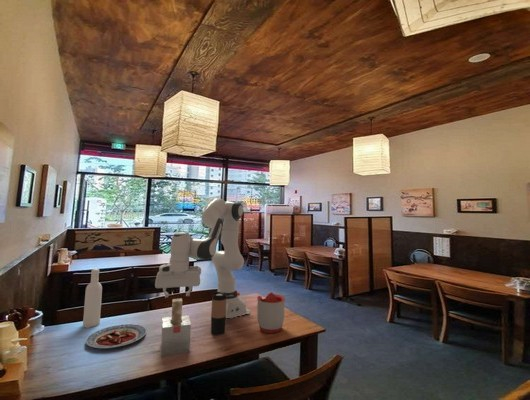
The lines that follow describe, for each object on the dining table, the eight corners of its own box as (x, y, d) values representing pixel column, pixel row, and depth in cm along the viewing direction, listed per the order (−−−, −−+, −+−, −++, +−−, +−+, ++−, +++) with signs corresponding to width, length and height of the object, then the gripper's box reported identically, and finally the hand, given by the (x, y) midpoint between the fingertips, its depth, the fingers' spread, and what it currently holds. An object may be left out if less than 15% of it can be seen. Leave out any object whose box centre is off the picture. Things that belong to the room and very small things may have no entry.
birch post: (179, 341, 123) (181, 298, 125) (180, 345, 119) (182, 301, 121) (169, 342, 122) (172, 299, 123) (170, 347, 118) (172, 301, 119)
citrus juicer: (271, 320, 156) (272, 286, 157) (290, 331, 142) (291, 293, 143) (249, 326, 147) (250, 290, 148) (267, 338, 133) (268, 298, 134)
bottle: (80, 328, 138) (85, 271, 140) (84, 323, 145) (88, 268, 148) (98, 326, 141) (102, 270, 144) (101, 321, 148) (104, 267, 151)
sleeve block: (187, 340, 128) (188, 315, 129) (189, 352, 116) (191, 324, 117) (161, 343, 124) (162, 317, 125) (160, 356, 112) (162, 328, 113)
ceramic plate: (113, 357, 111) (113, 350, 111) (72, 346, 120) (73, 339, 120) (157, 333, 135) (157, 327, 135) (120, 325, 144) (121, 319, 144)
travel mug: (212, 336, 133) (214, 296, 134) (208, 330, 139) (210, 292, 141) (227, 334, 136) (228, 295, 138) (222, 328, 143) (223, 291, 144)
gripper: (200, 264, 130) (199, 293, 129) (156, 266, 123) (154, 296, 121) (202, 267, 124) (200, 296, 123) (156, 268, 117) (153, 300, 116)
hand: (177, 296), depth 122 cm, fingers open, 8 cm apart
